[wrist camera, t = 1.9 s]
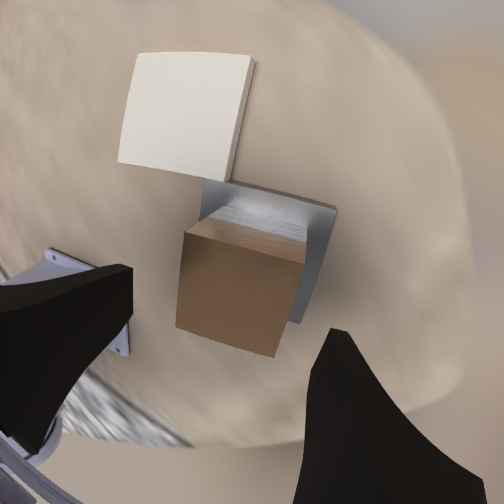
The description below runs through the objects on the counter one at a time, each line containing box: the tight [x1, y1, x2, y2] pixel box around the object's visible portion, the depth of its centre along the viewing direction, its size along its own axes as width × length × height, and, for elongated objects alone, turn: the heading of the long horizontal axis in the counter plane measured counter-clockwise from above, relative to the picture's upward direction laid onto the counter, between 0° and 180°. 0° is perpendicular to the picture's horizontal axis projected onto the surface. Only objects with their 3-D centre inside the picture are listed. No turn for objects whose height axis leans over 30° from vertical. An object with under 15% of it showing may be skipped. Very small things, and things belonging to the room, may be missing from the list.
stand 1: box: [118, 52, 256, 182], centre depth 14 cm, size 7×7×1 cm
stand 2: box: [199, 178, 337, 324], centre depth 16 cm, size 7×7×1 cm
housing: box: [175, 206, 307, 358], centre depth 13 cm, size 4×4×5 cm
